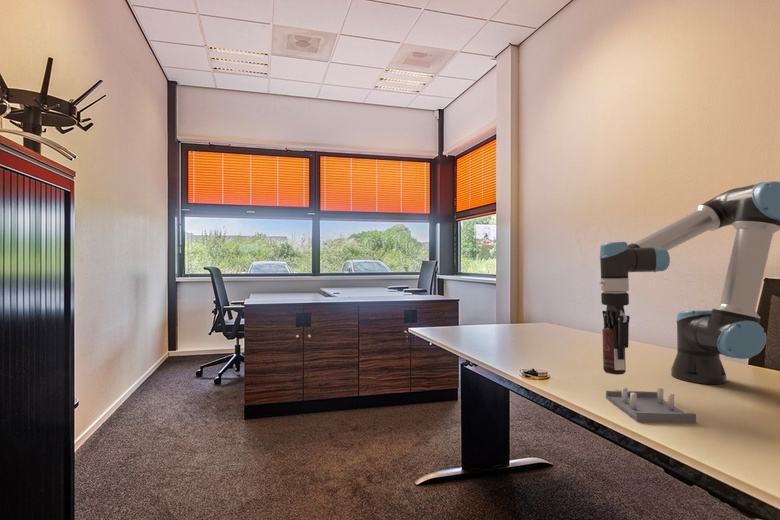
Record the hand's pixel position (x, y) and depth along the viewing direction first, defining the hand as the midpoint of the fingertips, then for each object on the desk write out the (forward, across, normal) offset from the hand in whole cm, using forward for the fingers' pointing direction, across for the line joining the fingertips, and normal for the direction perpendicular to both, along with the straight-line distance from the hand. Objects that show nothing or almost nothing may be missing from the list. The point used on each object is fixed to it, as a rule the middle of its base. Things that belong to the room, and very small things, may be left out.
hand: (616, 367), depth 130 cm
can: (+2, -1, 0) cm, 2 cm away
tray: (+7, +17, 0) cm, 18 cm away
